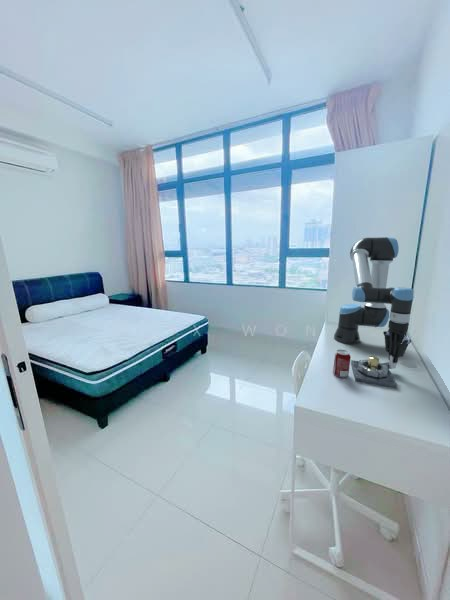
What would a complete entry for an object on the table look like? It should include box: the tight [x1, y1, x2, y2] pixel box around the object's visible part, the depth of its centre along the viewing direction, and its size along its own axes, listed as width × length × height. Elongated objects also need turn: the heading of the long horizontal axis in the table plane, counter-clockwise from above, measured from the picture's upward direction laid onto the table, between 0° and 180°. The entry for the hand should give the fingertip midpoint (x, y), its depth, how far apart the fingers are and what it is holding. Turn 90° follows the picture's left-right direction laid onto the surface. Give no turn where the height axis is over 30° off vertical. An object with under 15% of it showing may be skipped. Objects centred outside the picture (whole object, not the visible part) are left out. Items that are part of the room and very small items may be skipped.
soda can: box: [332, 348, 351, 378], centre depth 117 cm, size 7×7×12 cm
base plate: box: [350, 355, 398, 389], centre depth 117 cm, size 18×16×9 cm
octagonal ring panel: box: [358, 359, 397, 377], centre depth 118 cm, size 19×12×4 cm, turn 104°
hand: (391, 367), depth 118 cm, fingers closed
